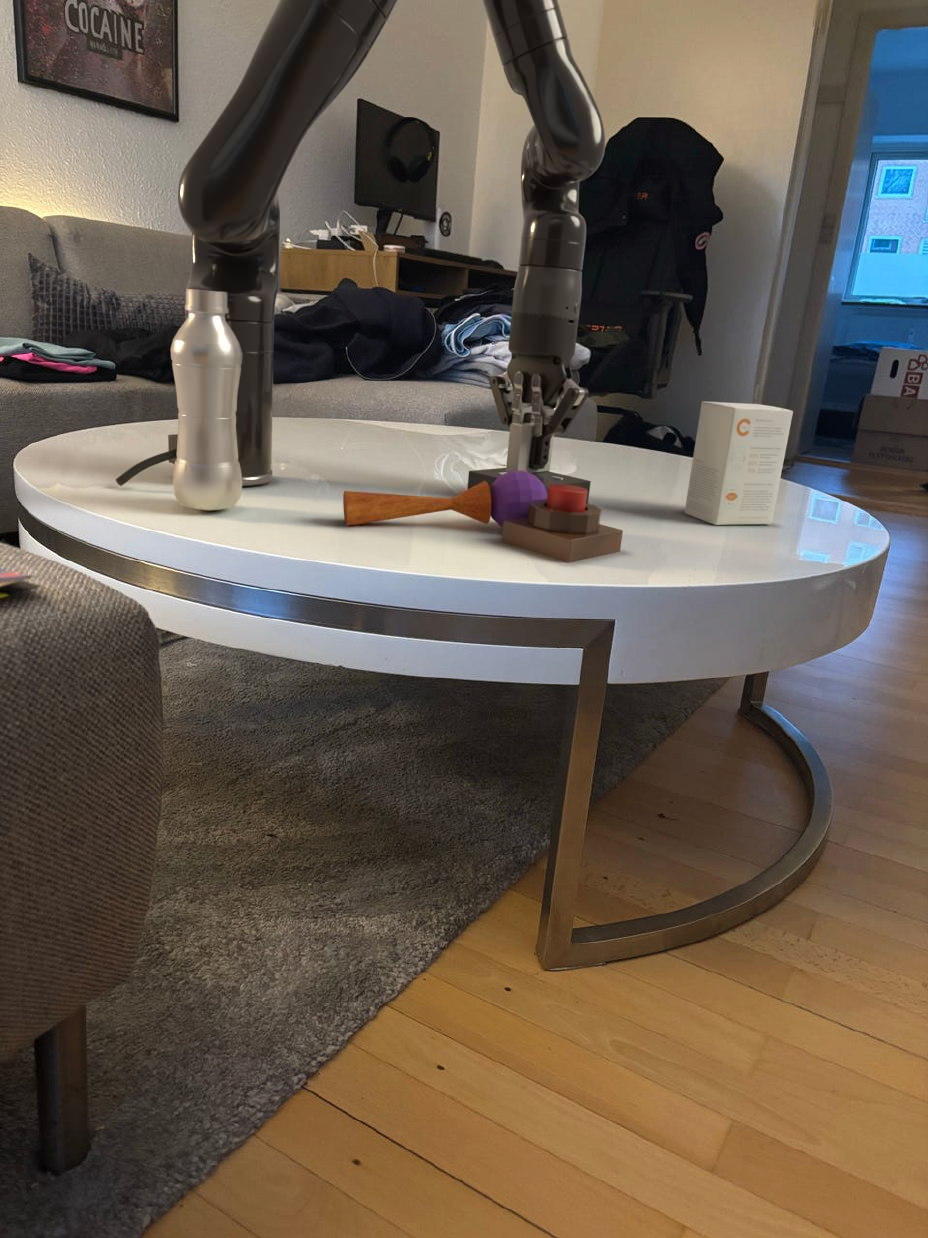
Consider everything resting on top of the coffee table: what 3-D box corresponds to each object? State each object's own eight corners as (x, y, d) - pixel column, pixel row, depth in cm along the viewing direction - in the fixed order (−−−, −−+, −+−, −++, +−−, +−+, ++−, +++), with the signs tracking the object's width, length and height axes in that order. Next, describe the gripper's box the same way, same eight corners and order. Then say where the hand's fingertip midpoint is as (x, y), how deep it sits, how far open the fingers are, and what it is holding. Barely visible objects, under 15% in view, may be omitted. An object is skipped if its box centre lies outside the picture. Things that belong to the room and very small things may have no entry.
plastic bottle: (251, 505, 92) (253, 294, 85) (228, 520, 85) (229, 292, 79) (188, 499, 92) (186, 288, 85) (161, 513, 86) (156, 286, 79)
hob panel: (532, 514, 99) (535, 485, 98) (453, 493, 107) (455, 466, 106) (598, 504, 108) (601, 478, 107) (520, 485, 115) (523, 460, 114)
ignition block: (568, 564, 81) (573, 519, 79) (500, 543, 86) (505, 501, 84) (620, 552, 86) (626, 511, 85) (553, 534, 91) (558, 494, 90)
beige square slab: (517, 474, 105) (522, 423, 103) (505, 471, 106) (510, 421, 104) (549, 471, 109) (555, 422, 107) (538, 468, 110) (543, 420, 109)
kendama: (340, 476, 89) (536, 469, 93) (343, 538, 90) (537, 528, 94) (347, 476, 83) (555, 469, 88) (350, 542, 84) (556, 531, 89)
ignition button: (568, 515, 82) (571, 493, 82) (538, 507, 85) (540, 485, 84) (592, 512, 85) (595, 490, 84) (562, 504, 87) (564, 483, 87)
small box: (738, 513, 111) (758, 403, 106) (772, 525, 105) (795, 410, 101) (682, 512, 108) (700, 399, 103) (714, 525, 102) (735, 406, 98)
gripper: (477, 305, 104) (464, 458, 109) (573, 314, 95) (554, 479, 100) (520, 309, 109) (506, 455, 115) (615, 318, 100) (594, 475, 106)
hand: (528, 466), depth 107 cm, fingers closed on beige square slab, 2 cm apart
